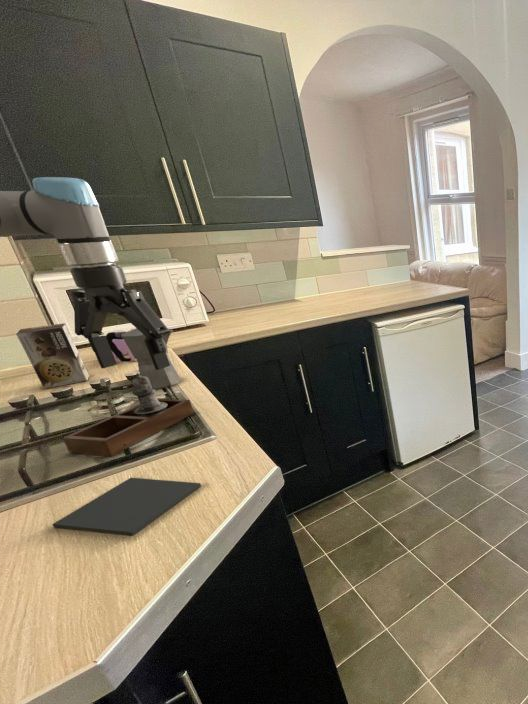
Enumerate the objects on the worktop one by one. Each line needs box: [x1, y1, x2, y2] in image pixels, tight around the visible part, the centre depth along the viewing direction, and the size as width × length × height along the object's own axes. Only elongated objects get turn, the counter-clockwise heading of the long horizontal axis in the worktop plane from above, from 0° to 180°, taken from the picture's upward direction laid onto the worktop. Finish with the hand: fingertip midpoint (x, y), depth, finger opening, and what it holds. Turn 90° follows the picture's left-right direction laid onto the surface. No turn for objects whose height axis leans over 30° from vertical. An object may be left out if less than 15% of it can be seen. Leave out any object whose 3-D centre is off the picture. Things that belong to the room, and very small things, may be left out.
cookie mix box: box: [16, 322, 90, 390], centre depth 117 cm, size 9×6×16 cm
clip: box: [112, 328, 137, 364], centre depth 142 cm, size 20×12×7 cm, turn 32°
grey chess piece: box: [131, 372, 168, 417], centre depth 93 cm, size 6×6×12 cm
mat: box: [51, 477, 202, 536], centre depth 67 cm, size 14×12×1 cm
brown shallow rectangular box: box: [62, 397, 195, 457], centre depth 90 cm, size 10×19×4 cm, turn 171°
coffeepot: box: [105, 327, 182, 390], centre depth 114 cm, size 15×9×18 cm, turn 110°
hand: (136, 367), depth 90 cm, fingers open, 13 cm apart
